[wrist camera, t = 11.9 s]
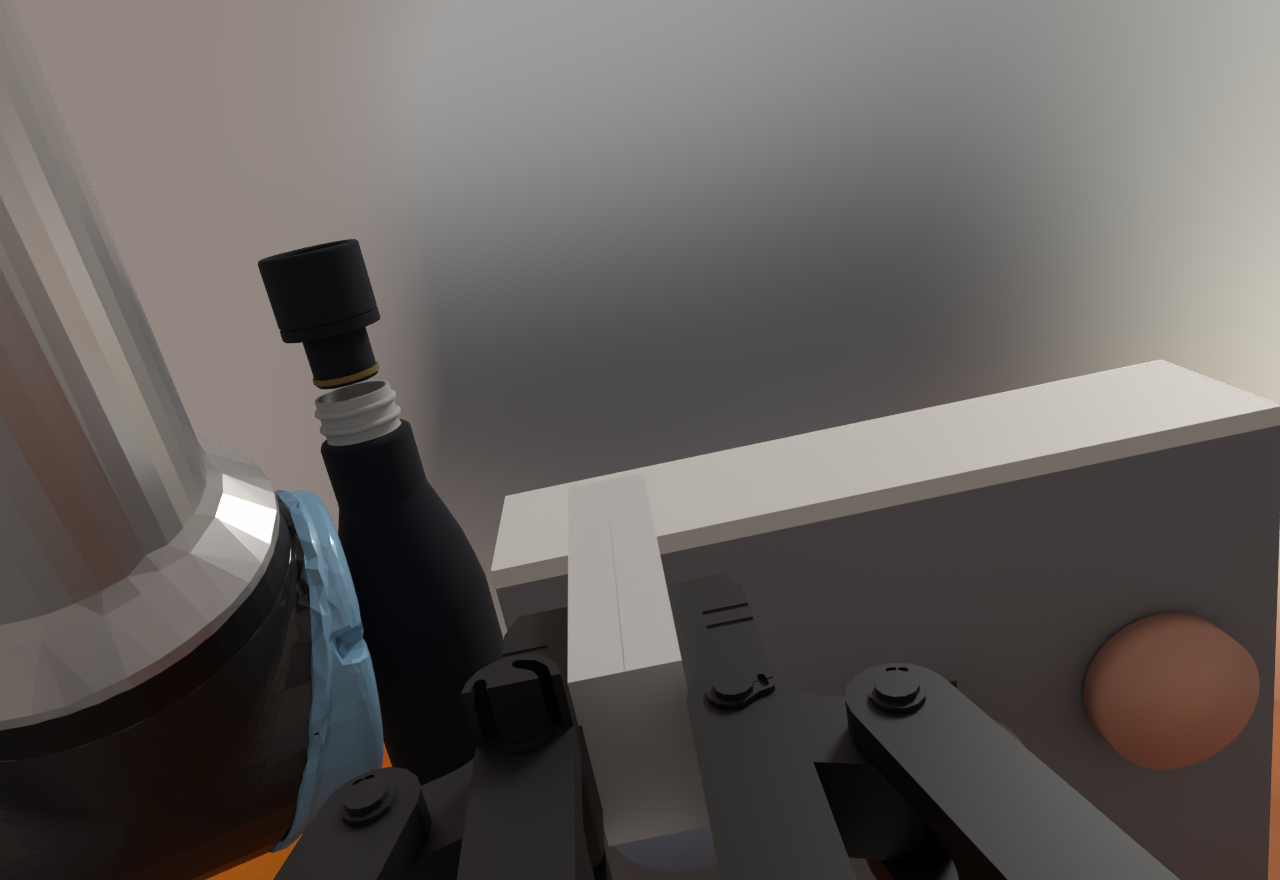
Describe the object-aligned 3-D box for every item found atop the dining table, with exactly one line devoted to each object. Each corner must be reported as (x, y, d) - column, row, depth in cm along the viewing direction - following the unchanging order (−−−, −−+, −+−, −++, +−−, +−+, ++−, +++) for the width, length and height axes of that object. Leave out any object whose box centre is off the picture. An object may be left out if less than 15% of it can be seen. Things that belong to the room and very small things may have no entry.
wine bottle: (475, 930, 41) (256, 267, 31) (407, 864, 46) (199, 271, 36) (584, 842, 45) (419, 227, 35) (511, 789, 50) (348, 235, 40)
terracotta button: (1257, 751, 29) (1261, 616, 28) (1105, 783, 29) (1100, 650, 28) (1176, 678, 33) (1175, 556, 32) (1042, 706, 33) (1034, 586, 32)
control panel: (1265, 931, 34) (1283, 405, 27) (628, 1065, 34) (490, 571, 27) (1166, 816, 39) (1160, 359, 33) (620, 931, 39) (505, 496, 33)
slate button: (770, 853, 29) (746, 724, 28) (617, 885, 29) (584, 758, 28) (747, 768, 33) (724, 651, 32) (612, 796, 33) (583, 680, 32)
